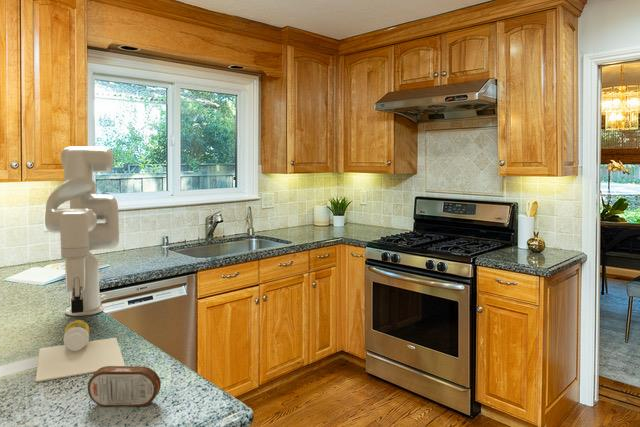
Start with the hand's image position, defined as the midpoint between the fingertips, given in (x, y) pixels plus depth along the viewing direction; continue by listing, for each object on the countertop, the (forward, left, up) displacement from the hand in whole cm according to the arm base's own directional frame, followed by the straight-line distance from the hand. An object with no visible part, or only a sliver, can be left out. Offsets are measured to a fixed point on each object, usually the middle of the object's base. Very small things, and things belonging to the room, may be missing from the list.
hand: (77, 311), depth 148 cm
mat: (+15, +13, -8) cm, 21 cm away
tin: (+36, +40, -8) cm, 54 cm away
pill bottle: (+4, +3, -4) cm, 6 cm away
